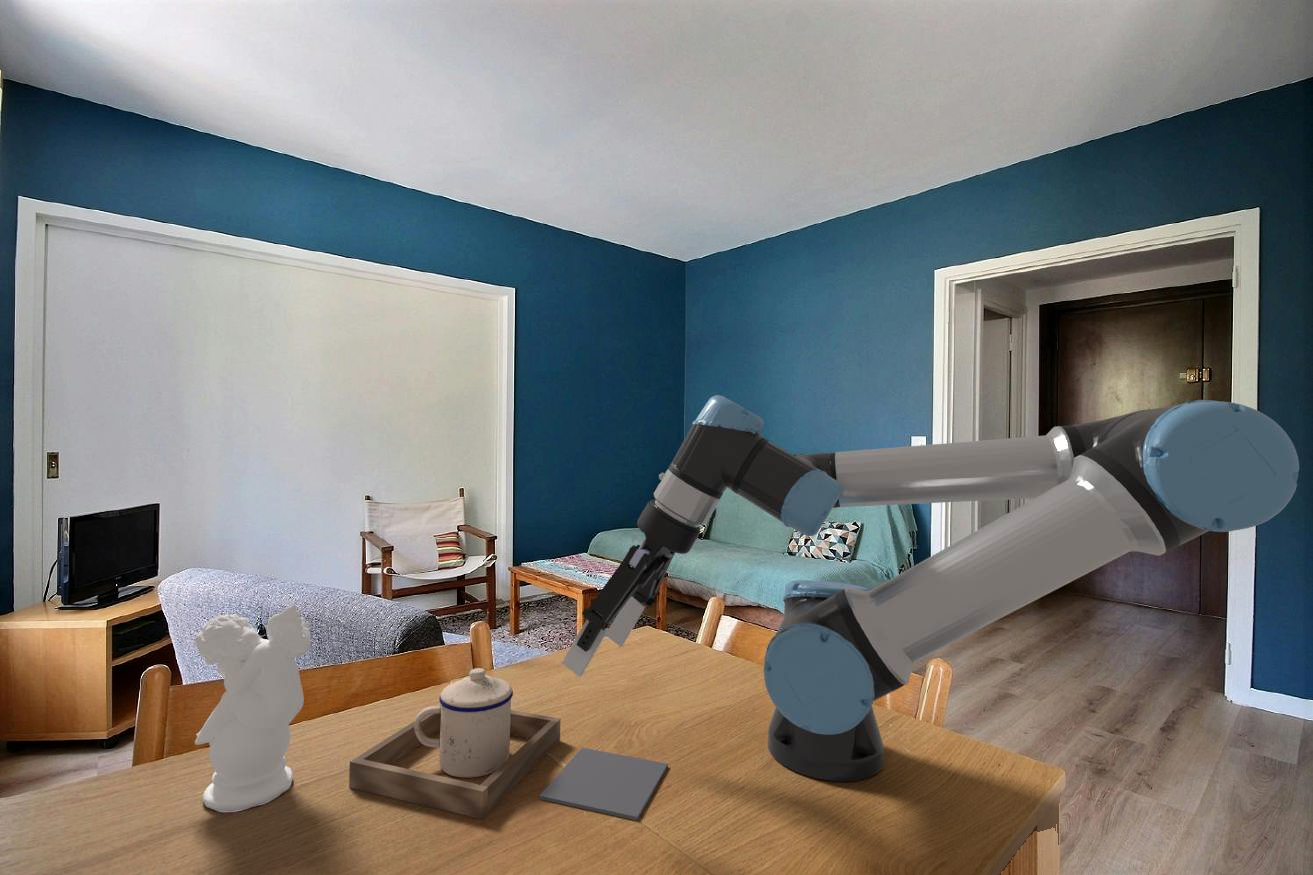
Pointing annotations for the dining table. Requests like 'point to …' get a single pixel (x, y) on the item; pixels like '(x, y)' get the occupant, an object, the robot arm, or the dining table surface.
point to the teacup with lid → (471, 725)
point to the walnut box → (448, 793)
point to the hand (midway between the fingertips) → (594, 653)
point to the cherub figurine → (252, 707)
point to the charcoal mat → (606, 783)
